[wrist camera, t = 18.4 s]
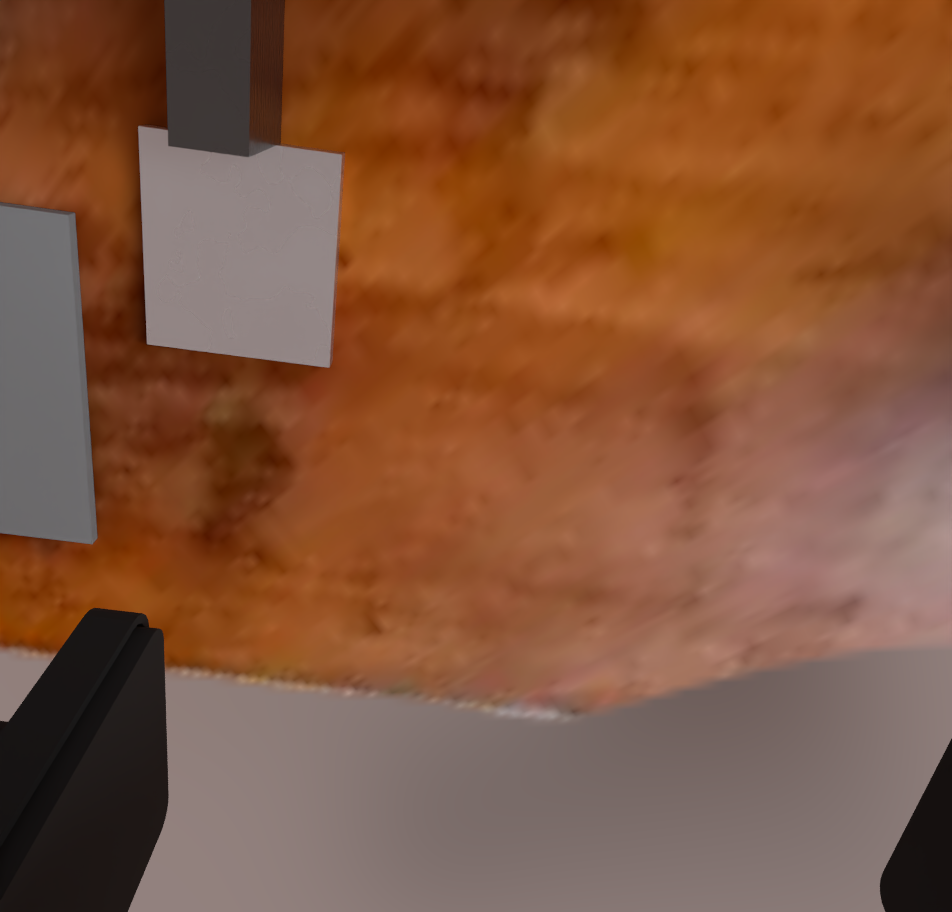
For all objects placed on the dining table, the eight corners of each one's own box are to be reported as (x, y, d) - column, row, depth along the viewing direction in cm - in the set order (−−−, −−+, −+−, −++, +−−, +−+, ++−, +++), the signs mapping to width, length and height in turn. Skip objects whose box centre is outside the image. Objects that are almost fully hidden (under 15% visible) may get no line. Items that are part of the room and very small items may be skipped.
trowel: (134, -181, 29) (69, -224, 25) (363, -145, 29) (340, -181, 25) (153, 338, 37) (107, 377, 33) (332, 361, 38) (311, 403, 33)
